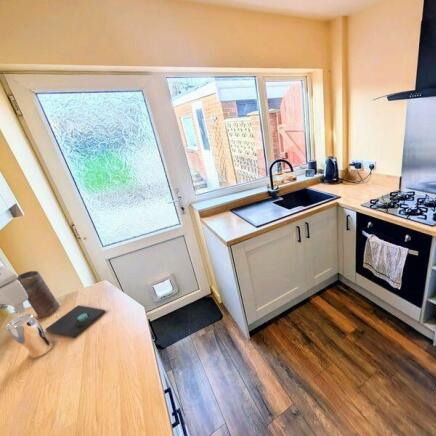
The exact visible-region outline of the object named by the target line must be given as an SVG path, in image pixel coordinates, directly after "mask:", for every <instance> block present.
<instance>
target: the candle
mask: <svg viewBox="0 0 436 436" xmlns="http://www.w3.org/2000/svg"><path fill="white" fill-rule="evenodd" d="M17 276H18V278H16V280H18V281H19V282H20V283H21V285H22V286H23V288H24V290H25V291H26V293H27V295H28V299H27V300H26V301H28V303H29V304H30V306H31V308H32V309H33V311H34V312H35V314H36V316H37V317H38V318H42V317H47V316H49V315H50V314H52V313H54V312H56V311H57V310H58V309H59V307H60V304H59V302H58V300H57V298H56V297H55V296H54V294H53V292H52V291H51V289H50V288H49V286H48V285H47V283H46V282H45V280H44V278H43V277H42V275H41V273H40V272H39V271H37V270H31V271H27V272H23V273H20V274H19V275H17Z"/></svg>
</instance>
